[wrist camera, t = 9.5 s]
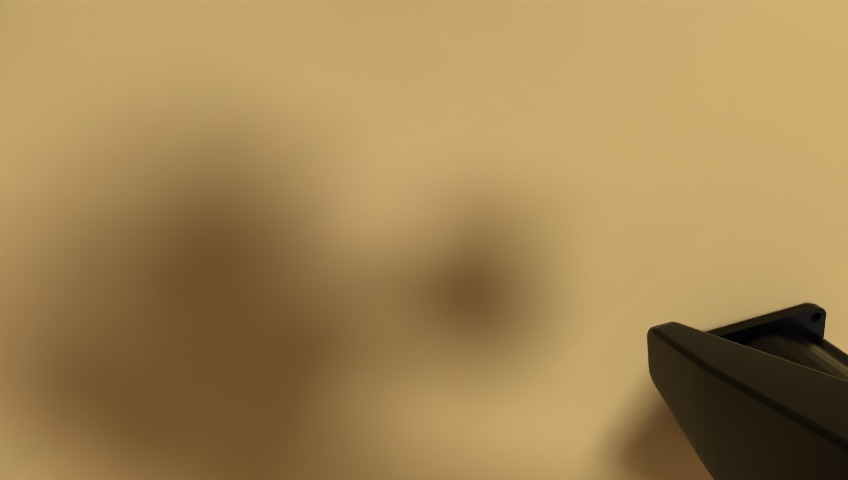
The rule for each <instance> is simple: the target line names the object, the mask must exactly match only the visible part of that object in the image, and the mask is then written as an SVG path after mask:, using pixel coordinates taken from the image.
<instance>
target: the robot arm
mask: <svg viewBox="0 0 848 480" xmlns="http://www.w3.org/2000/svg"><path fill="white" fill-rule="evenodd" d="M825 319H826V311H825V310H824V309H823V308H821V307H820V306H818V305H816V304H808V305H805V306H801V307H798V308H794V309H791V310H787V311H784V312H780V313H777V314H773V315H770V316H766V317H763V318H759V319H756V320H752V321H749V322H745V323H742V324H738V325H735V326H731V327H727V328H724V329H720V330H717V331H713V332H710V333H706V332H703V331H700V330H698V329H695V328H692V327H689V326H686V325H683V324H680V323H677V322H668V323H665V324H661V325H657V326H654V327H651V328H650V329H649V330H648V333H647V345H648V362H649V372H650V375H651V378H652V381H653V383H654V384H655V386H656V388H657V389H658V391H659V393H660V394H661V396H662V398H663V399H664V401H665V403H666V404H667V406H668V408H669V409H670V411H671V413H672V414H673V416H674V417H675V419H676V421H677V422H678V424H679V426H680V427H681V429H682V431H683V432H684V434H685V436H686V437H687V439H688V440H689V442H690V444H691V445H692V447H693V449H694V450H695V452H696V454H697V455H698V457H699V458H700V460H701V461H702V463H703V465H704V466H705V467H706V469H707V470H708V472H709V473H710V474H711V476H712V477H713V479H714V480H848V355H847V354H846V353H844V352H843V351H841V350H840V349H838V348H837V347H835V346H834V345H832V344H831V343H829V342H828V341H826V340H825V339H823V338H824V328H825Z"/></svg>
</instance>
